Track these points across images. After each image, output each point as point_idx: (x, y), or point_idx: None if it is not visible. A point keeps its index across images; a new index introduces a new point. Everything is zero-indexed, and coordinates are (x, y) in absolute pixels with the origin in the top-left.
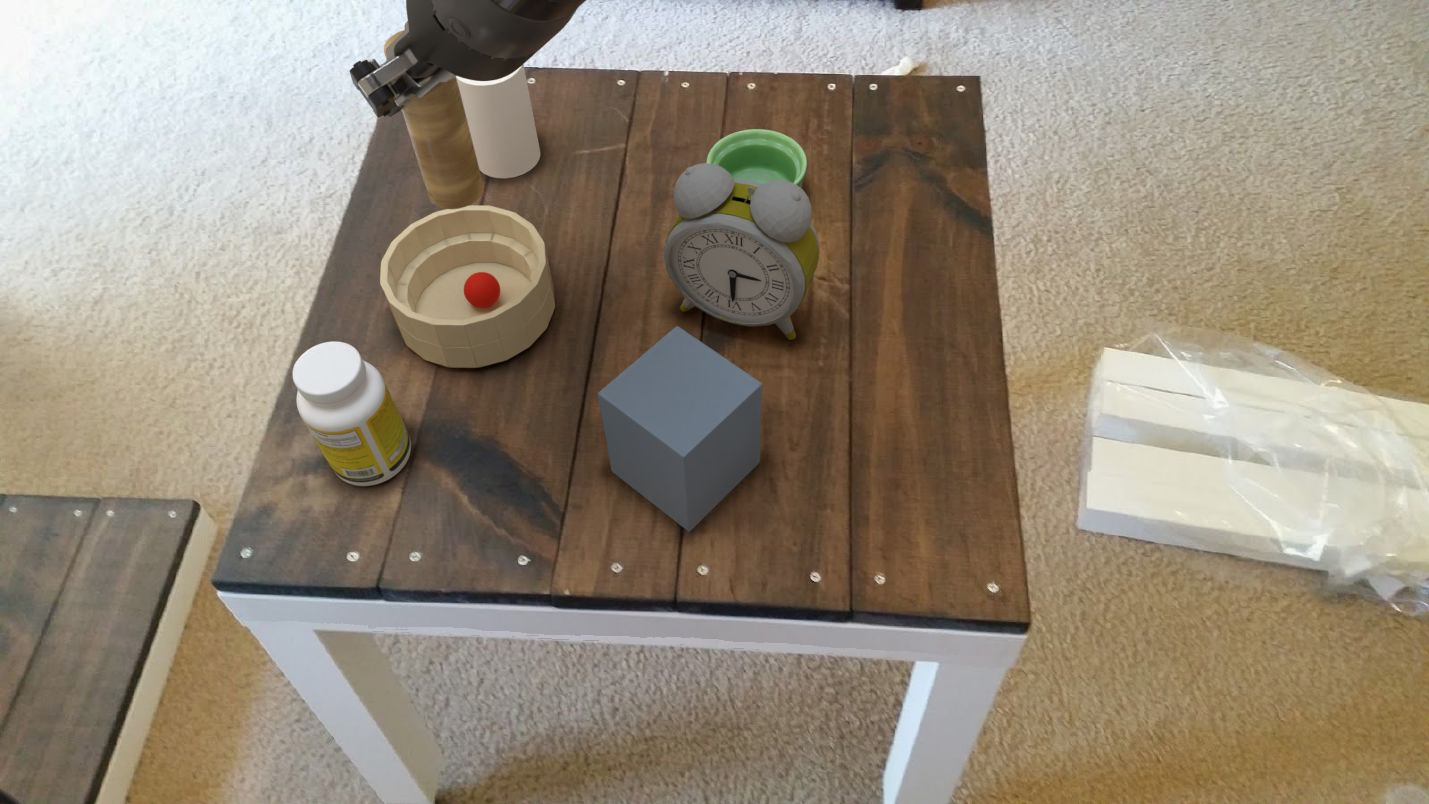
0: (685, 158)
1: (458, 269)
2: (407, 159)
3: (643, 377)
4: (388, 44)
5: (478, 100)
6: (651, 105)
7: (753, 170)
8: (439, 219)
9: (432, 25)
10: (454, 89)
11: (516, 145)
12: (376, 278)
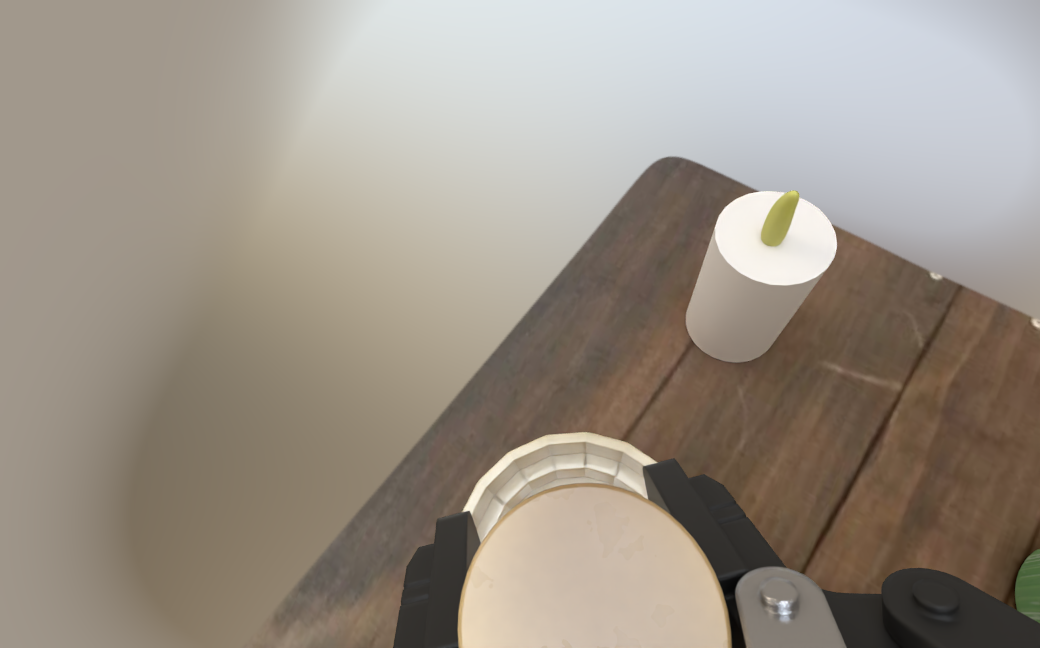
0: (991, 463)
1: (587, 482)
2: (612, 266)
3: None
4: (499, 546)
5: (731, 286)
6: (969, 334)
7: None
8: (586, 444)
9: None
10: None
11: (749, 341)
12: (495, 428)
